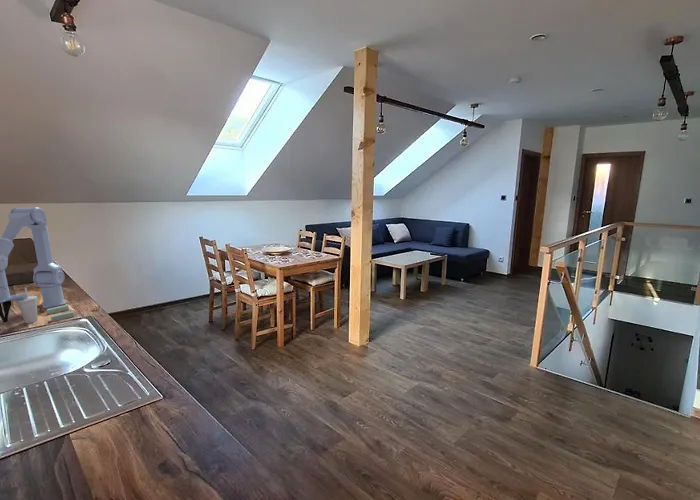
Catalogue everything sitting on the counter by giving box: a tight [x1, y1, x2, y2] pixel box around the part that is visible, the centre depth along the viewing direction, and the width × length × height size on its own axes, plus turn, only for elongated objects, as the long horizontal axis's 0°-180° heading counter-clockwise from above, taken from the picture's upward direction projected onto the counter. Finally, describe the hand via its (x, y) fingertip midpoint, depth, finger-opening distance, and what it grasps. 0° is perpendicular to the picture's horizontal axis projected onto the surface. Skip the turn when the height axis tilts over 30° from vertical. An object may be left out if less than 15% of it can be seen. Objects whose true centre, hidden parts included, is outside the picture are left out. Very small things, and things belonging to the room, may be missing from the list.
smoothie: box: [15, 287, 38, 324], centre depth 145 cm, size 6×6×14 cm
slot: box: [46, 304, 75, 322], centre depth 153 cm, size 13×7×2 cm, turn 45°
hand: (5, 321), depth 141 cm, fingers closed
